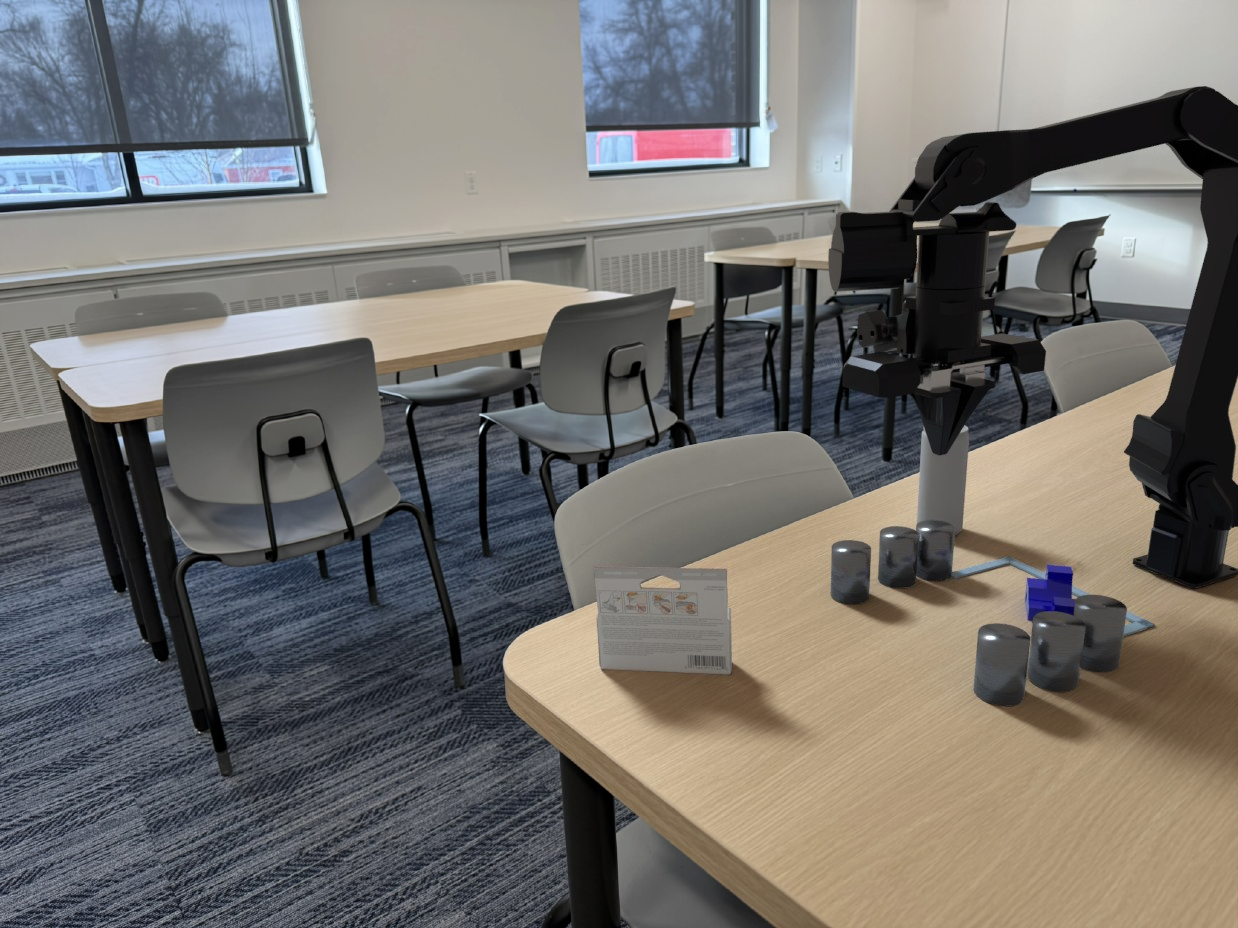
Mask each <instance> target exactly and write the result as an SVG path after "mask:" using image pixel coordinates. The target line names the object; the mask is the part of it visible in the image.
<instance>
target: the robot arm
mask: <svg viewBox="0 0 1238 928" xmlns="http://www.w3.org/2000/svg"><path fill="white" fill-rule="evenodd" d="M1164 144H1165V145H1166V146H1167V147H1169V148H1170V150H1171V151H1172V153H1173V154H1174V155H1175V156H1176V157H1177V159H1178V161H1179V162H1180V164H1182V165H1183V166H1184V168H1186V169H1188V170H1189V171H1190V172H1192V173H1193V174H1195V176H1197V177H1198V178H1200V179H1201V180H1202V184H1201V195H1200V207H1199V209H1200V214H1201V218H1202V222H1203V226H1204V230H1205V235H1206V238H1207V239H1206V240H1207V241H1206V242H1207V244H1206V250H1205V254H1204V257H1203V262H1202V265H1201V269H1200V272H1199V276H1198V279H1197V284H1196V287H1195V291H1194V294H1193V299H1192V303H1191V306H1190V309H1189V314H1188V318H1187V321H1186V325H1185V329H1184V332H1183V336H1182V339H1181V344H1180V348H1179V351H1178V355H1177V359H1176V363H1175V365H1174V370H1173V373H1172V377H1171V380H1170V383H1169V388H1168V391H1167V395H1166V398H1165V400H1164V401H1163V403H1162V404H1161V405H1160V406H1159V407H1158V408H1157V409H1156V410H1155V411H1154V412H1153V414H1151V415H1150V416H1148V415H1145V414H1140V413H1138V414H1136V415H1135V417H1134V420H1133V422H1132V433H1131V438H1130V441H1129V443H1128V445H1127V446H1126V448H1125V449H1124V451H1123V453H1124V454H1125V455H1127V456H1128V457H1129V460H1128V461H1129V462H1128V466H1129V471H1130V472H1131V473H1132V475H1133V476H1134V477H1135V479H1136V480H1137V481H1138V482H1140V483H1141V485H1142V488H1143V492H1144V496H1145V497H1147V498H1148V499H1151V500H1153V501H1154V502H1156V503H1158V504H1159V505H1158V509H1157V510H1155V512H1154V518H1153V524H1152V528H1151V530H1150V537H1149V544H1148V550H1147V553H1146V554H1144V555H1141V556H1138V557H1134V558H1132V562H1131V564H1133V565H1134V566H1136V567H1140V568H1141V569H1144V570H1146V571H1148V572H1151V573H1154V574H1156V575H1158V576H1161V577H1162V578H1165V579H1168V580H1171V581H1173V582H1175V583H1178V584H1180V585H1183V586H1185V587H1188V588H1190V589H1199V588H1201V587H1205V586H1208V585H1210V584H1215V583H1217V582H1220V581H1223V580H1226V579H1229V578H1233V577H1235V576H1238V568H1236V567H1235V566H1234V567H1233V566H1232V565H1228V564H1226V563H1224V561H1225V560H1224V559H1225V555H1226V548H1227V544H1228V538H1229V532H1230V531H1231V530H1232V529H1234V528H1238V483H1236V482H1235V480H1233V479H1234V478H1233V477H1234V471H1235V469H1234V468H1235V461H1236V453H1237V452H1236V451H1237V443H1236V439H1235V436H1234V431H1233V427H1232V422H1231V419H1230V415H1229V411H1230V405H1231V402H1232V400H1233V399H1232V398H1233V395H1234V391H1235V389H1236V385H1237V381H1238V104H1236V103H1235V102H1233V101H1232V100H1231V99H1229V98H1228V97H1226V96H1225V95H1224V94H1223V93H1221V92H1220V91H1217V90H1216V89H1215V88H1213V87H1210V86H1206V85H1204V86H1203V85H1202V86H1193V87H1188V88H1182V89H1176V90H1171V91H1168V92H1165V93H1164V94H1162V95H1160V96H1158V97H1155V98H1151V99H1147V100H1143V101H1139V102H1134V103H1131V104H1128V105H1123V106H1118V107H1115V108H1110V109H1107V110H1103V111H1099V112H1094V113H1091V114H1086V115H1083V116H1078V117H1075V118H1071V119H1066V120H1062V121H1059V122H1055V123H1054V122H1053V123H1050V124H1046V125H1042V126H1039V127H1035V128H1030V129H1029V128H1028V129H1027V128H1025V129H1008V130H1007V129H1006V130H1005V129H1004V130H994V131H979V132H968V133H962V134H954V135H948V136H942V137H940V138H938V139H935V140H933V141H931V142H930V143H929V144H927V145H926V146H925V147H924V149H923V151H922V152H921V154H920V155H919V156H918V157H917V160H916V161H917V162H916V164H915V168H914V177H913V179H912V180H911V181H910V182H909V184H908V186H907V187H906V188H905V190H904V191H903V192H902V193H901V195H900V196H899V198H898V199H897V201H895V203H894V205H892V206H891V208H890V210H888V211H877V212H858V211H857V212H856V211H838V212H837V213H836V214H835V227H834V229H833V232H832V237H831V243H830V244H831V245H830V247H829V248H828V259H827V260H828V263H827V265H828V275H829V276H828V277H829V282H830V287H831V289H832V291H833V292H835V293H836V292H837V293H838V292H839V293H840V292H854V291H855V292H856V291H857V292H858V291H859V292H860V291H878V290H893V289H894V290H895V289H900V288H901V287H902V286H903V285H904V284H903V283H904V281H905V280H910V279H911V278H912V276H913V275H914V273H915V272H916V284H915V285H916V286H915V295H911V296H906V297H905V300H904V302H903V304H902V305H903V306H902V313H901V314H898V315H894V316H887V315H886V314H885V312H884V311H883V310H882V309H880V310H879V309H878V310H872V311H865V312H863V313H861V314H858V316H857V326H856V336H857V342H858V345H859V346H860V347H862V348H869V347H870V348H871V347H872V348H873V352H871V353H870V352H869V353H863V354H857V355H852V356H849V358H848V359H847V360H846V362H845V363H844V364H843V367H842V385H841V387H844V388H847V389H850V390H853V391H857V392H860V393H864V394H866V395H869V396H873V397H877V398H880V399H881V398H882V399H889V398H890V399H891V398H894V397H901V396H906V395H907V396H910V398H911V399H912V400H913V402H914V404H915V406H916V409H917V411H918V413H919V415H920V418H921V423H922V425H923V427H924V428H925V431H926V435H927V438H928V441H929V444H930V447H931V450H932V452H933V453H934V454H936V455H939V456H941V455H945V454H947V453H948V451H949V450H950V448H951V446H952V445H953V443H954V441H955V440H956V438H957V437H958V435H959V433H960V432H961V430H962V429H963V427H964V425H965V426H966V423H967V422H968V421H969V419H970V417H971V416H972V414H973V413H974V411H976V409H977V407H978V406H979V404H980V403H982V401H983V399H984V397H986V395H987V394H988V392H989V391H991V390H992V389H995V388H996V387H997V384H998V383H997V381H994V380H990V379H987V378H986V375H987V374H986V373H987V372H986V371H985V368H989V367H990V368H991V367H995V366H996V367H997V366H1002V365H1011V366H1012V368H1013V369H1014V370H1015V371H1016V373H1017V374H1020V375H1026V374H1027V375H1028V374H1033V373H1034V374H1035V373H1039V372H1045V366H1046V355H1047V351H1046V349H1045V347H1044V346H1043V344H1042V342H1041V341H1040V339H1037V338H1031V337H1025V336H1019V335H1014V334H1013V335H1012V334H1007V333H997V334H996V333H995V334H991V335H983V336H982V334H983V333H982V331H983V330H982V329H983V319H984V318H983V317H984V312H987V311H991V310H995V305H996V304H995V302H996V298H995V297H991V296H985V292H986V280H987V279H986V278H987V265H988V257H989V256H988V253H989V242H990V241H989V240H990V237H989V236H990V232H1008V231H1014V230H1015V229H1016V228H1017V222H1016V221H1015V220H1013V219H1012V218H1011V217H1010V216H1008V215H1007V214H1006V213H1005V212H1004V211H1003V209H1002V207H1001V206H1000V204H999V203H998V202H995V201H989V200H991V199H993V198H995V197H999V196H1000V195H1003V194H1005V193H1008V192H1010V191H1013V190H1015V189H1016V188H1018V187H1020V186H1021V185H1023V184H1025V183H1027V182H1029V181H1030V180H1033V179H1034V178H1037V177H1039V176H1043V174H1046V173H1051V172H1053V171H1058V170H1059V171H1060V170H1062V169H1067V168H1071V167H1075V166H1079V165H1084V164H1086V163H1090V162H1091V163H1092V162H1095V161H1099V160H1103V159H1106V158H1107V159H1108V158H1112V157H1115V156H1119V155H1123V154H1124V155H1125V154H1128V153H1133V152H1136V151H1140V150H1144V149H1148V148H1152V147H1156V146H1161V145H1164ZM984 202H985V203H984ZM982 203H984V204H983V205H982V207H980V208H979V209H978V210H977V211H971V212H968V211H967V212H953V211H955V210H956V209H957V208H959V207H972V206H976V205H979V204H982ZM952 212H953V213H952ZM937 221H940V222H939V224H938V225H930V226H914V223H915V222H916V223H921V222H937ZM893 353H897V354H901V355H897V354H893ZM902 355H911V356H912V357H911V358H909V357H906V356H902Z"/></svg>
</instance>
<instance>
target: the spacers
mask: <svg viewBox="0 0 1238 928" xmlns="http://www.w3.org/2000/svg"><path fill="white" fill-rule="evenodd" d="M915 525H916V526H915V529H914V528H911V527H907V526H898V525H897V526H896V525H893V526H886V527H883V528H881V529H880V531H879V543H878V544H879V545H878V546H879V547H878V569H877V570H878V571H877V579H878V582H879V583H880V584H882V585H884V586H886V587H889V588H893V589H894V588H895V589H906V588H911V587H913V586H915V585H916V583H917V578H919V579H921V580H925V581H931V582H943V581H947V580H949V579H951V578H952V577H951V575H952V572H953V564H954V563H953V562H954V550H955V537H956V535H955V527H954V526H953V525H952V524H950V523H947V522H944V521H938V520H926V521H921V522H919V523H917V522H916V524H915ZM830 559H831V561H830V565H831V566H830V570H831V571H830V597H831V598H832V600H835V602H838V603H840V604H841V603H842V604H846V605H858V604H859V605H860V604H863V603H866V602H867V601H868V600H869V599H870V593H871V591H870V590H871V587H870V586H871V565H872V564H871V561H872V547H871V546H870V545H869V544H868V543H866V542H864V541H860V540H854V539H846V540H839V541H836V542H834V543H833V544H832V545H831V558H830ZM1075 599H1076V600H1075V607H1074V615H1070V614H1067V613H1063V612H1056V611H1045V612H1040V613H1038V614H1036V615H1035V616H1034V617H1033V621H1032V627H1031V636H1030V634H1029V633H1028V632H1027V631H1026V630H1024V629H1022V628H1021V627H1018V626H1014V625H1011V624H1007V623H999V622H998V623H995V622H993V623H987V624H983V625H982V626H981V627H979V628H978V630H977V640H976V641H977V642H976V643H977V644H976V653H975V654H976V655H975V665H974V674H973V675H974V676H973V677H974V678H973V693H974V694H975V695H976V697H977V698H979V699H980V700H982V701H984V702H986V703H988V704H990V705H995V706H1000V707H1012V706H1013V707H1014V706H1017V705H1020V704H1021V703H1023V701H1024V700H1025V695H1026V685H1027V679H1028V680H1029V681H1030V682H1031V683H1032V684H1033V685H1034V686H1036V687H1037V688H1040V689H1043V690H1046V691H1049V692H1054V693H1055V692H1056V693H1067V692H1072V691H1075V690H1076V689H1077V688H1078V686H1079V684H1080V683H1079V681H1080V675H1081V669H1083V670H1086V671H1089V672H1095V673H1110V672H1114V671H1116V670H1118V669H1119V667H1120V662H1121V656H1122V655H1121V654H1122V648H1123V647H1122V646H1123V640H1124V636H1123V634H1124V627H1125V625H1126V621H1127V619H1126V614H1127V611H1128V607H1127V606H1126V604H1124V602H1122V601H1120V600H1118V599H1116V598H1113V597H1110V596H1107V595H1102V594H1091V595H1083V596H1079V597H1078V596H1077V597H1076V598H1075Z"/></svg>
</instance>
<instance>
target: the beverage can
mask: <svg viewBox="0 0 1238 928" xmlns="http://www.w3.org/2000/svg"><path fill="white" fill-rule="evenodd" d="M922 427H923V428H922V429H923V430H922V431H921V441H920V442H921V443H920V463H919V477H918V493H917V495H918V496H917V512H916V517H917V518H916V524H917V523H919V522H921V521H926V520H938V521H944V522H947V523H950V524H952V525H953V526H954V527H955V536H958V534H959V533H960V532H961V531H962V530H963V526H964V516H965V515H964V514H965V513H964V512H965V502H966V487H967V486H966V485H967V473H968V461H969V447H970V446H969V443H970V432H969V427H968V426H967V425H966V424H965V425H964V427H963V429H962V430H961V432H960V433H959V435H958V437H957V438H956V440H955V441H954V443H953V445H952V446H951V448H950V450H949V451H948V453H947V454H945V455H941V456H939V455H936V454H934V453H933V452H932V450H931V447H930V444H929V441H928V438H927V435H926V431H925V428H924V426H922Z"/></svg>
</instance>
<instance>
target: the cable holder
mask: <svg viewBox="0 0 1238 928" xmlns="http://www.w3.org/2000/svg"><path fill="white" fill-rule="evenodd" d="M1045 573H1046V574H1045V579H1040V578H1037V577H1036V578H1035V577H1026V585H1025V595H1024V603H1025V605H1024V606H1025V611H1026V619H1027V621H1028V622H1029V621H1030V622H1033V617H1034V616H1035V615H1036V614H1038V613H1040V612H1045V611H1056V612H1063V613H1067V614H1070V615H1074V607H1075V600H1076V598H1073V594H1072V586H1073V581H1074V580H1073V579H1074V578H1073V577H1074V573H1073V569H1072V566H1067V565H1056V564H1046V567H1045Z"/></svg>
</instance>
